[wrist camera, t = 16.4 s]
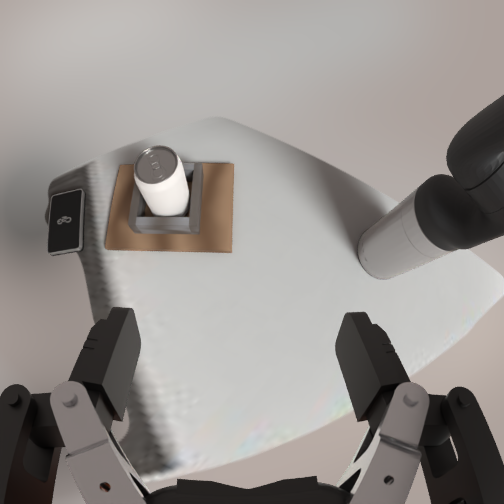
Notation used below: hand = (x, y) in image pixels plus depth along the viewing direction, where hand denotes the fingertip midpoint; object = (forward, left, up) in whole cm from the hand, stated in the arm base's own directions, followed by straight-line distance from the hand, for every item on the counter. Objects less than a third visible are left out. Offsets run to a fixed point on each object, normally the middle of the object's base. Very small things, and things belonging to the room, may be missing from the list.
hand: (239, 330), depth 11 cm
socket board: (+10, -20, -33) cm, 39 cm away
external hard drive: (+29, -16, -33) cm, 47 cm away
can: (+10, -19, -32) cm, 38 cm away
